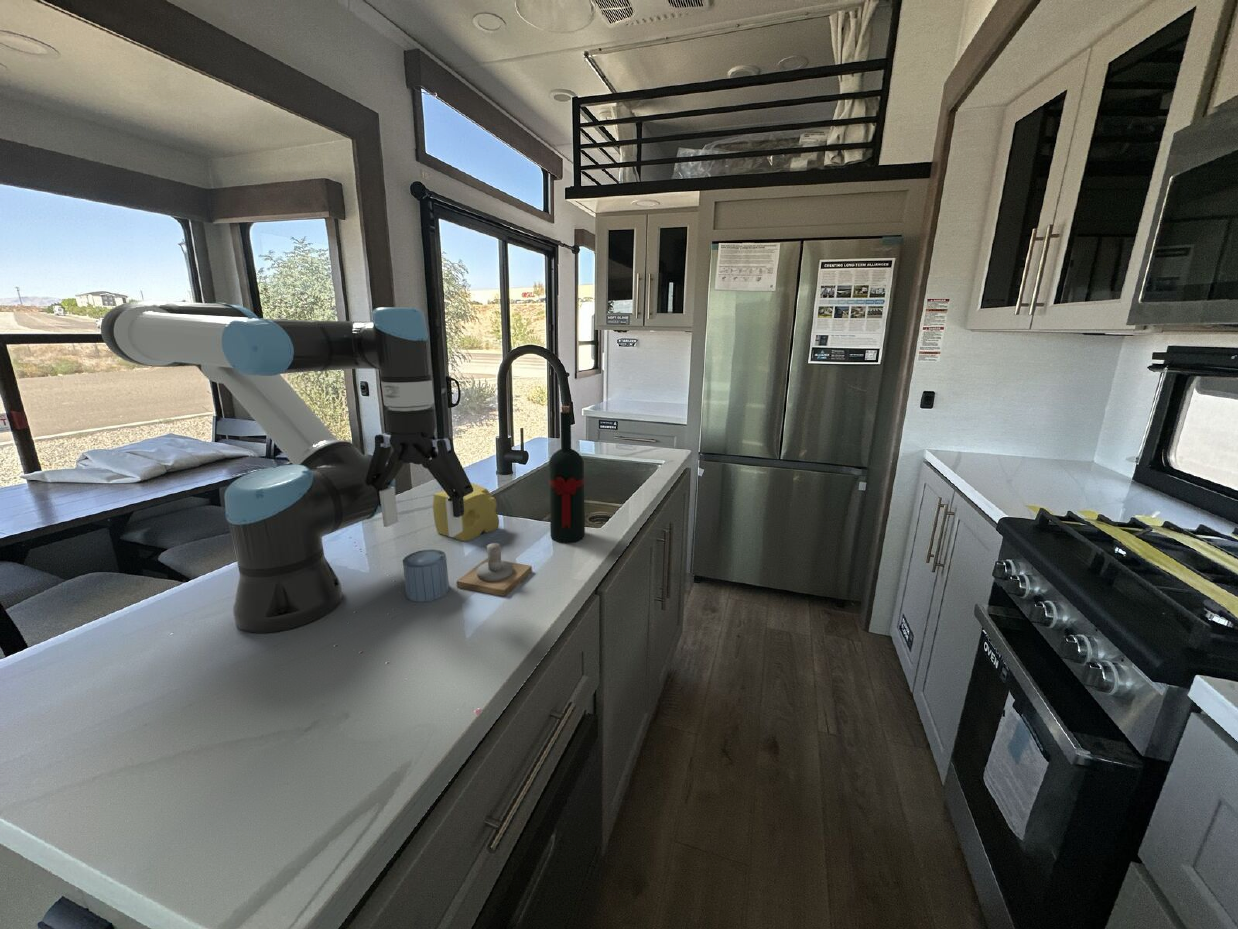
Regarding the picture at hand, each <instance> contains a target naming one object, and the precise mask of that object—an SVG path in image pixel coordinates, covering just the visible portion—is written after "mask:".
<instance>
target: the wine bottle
mask: <svg viewBox="0 0 1238 929" xmlns="http://www.w3.org/2000/svg"><path fill="white" fill-rule="evenodd" d="M559 414H560V418H559V419H560V449H558V450H556V452H554V453H553V454H552V455H551V457H550V458H549V461H548V473H549V475H548V476H549V477H548V478H549V521H550V523H549V524H550V528H549V530H550V539H551V540H552V541H553V542H555V543H560V544H571V543H577V542H580V541H583V539H584V538H585V536H586V530H585V529H586V525H585V524H586V523H585V522H586V521H585V519H586V518H585V515H586V514H585V511H586V510H585V469H584V468H585V464H584V463H585V462H584V459H583V457H582V456H581V455H580V453H579V452H578V451H576V450H575V449H573V448H572V422H571V421H572V418H571V416H572V414H571V411H570V406H569V405H562V406H561V411H560V412H559Z"/></svg>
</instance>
